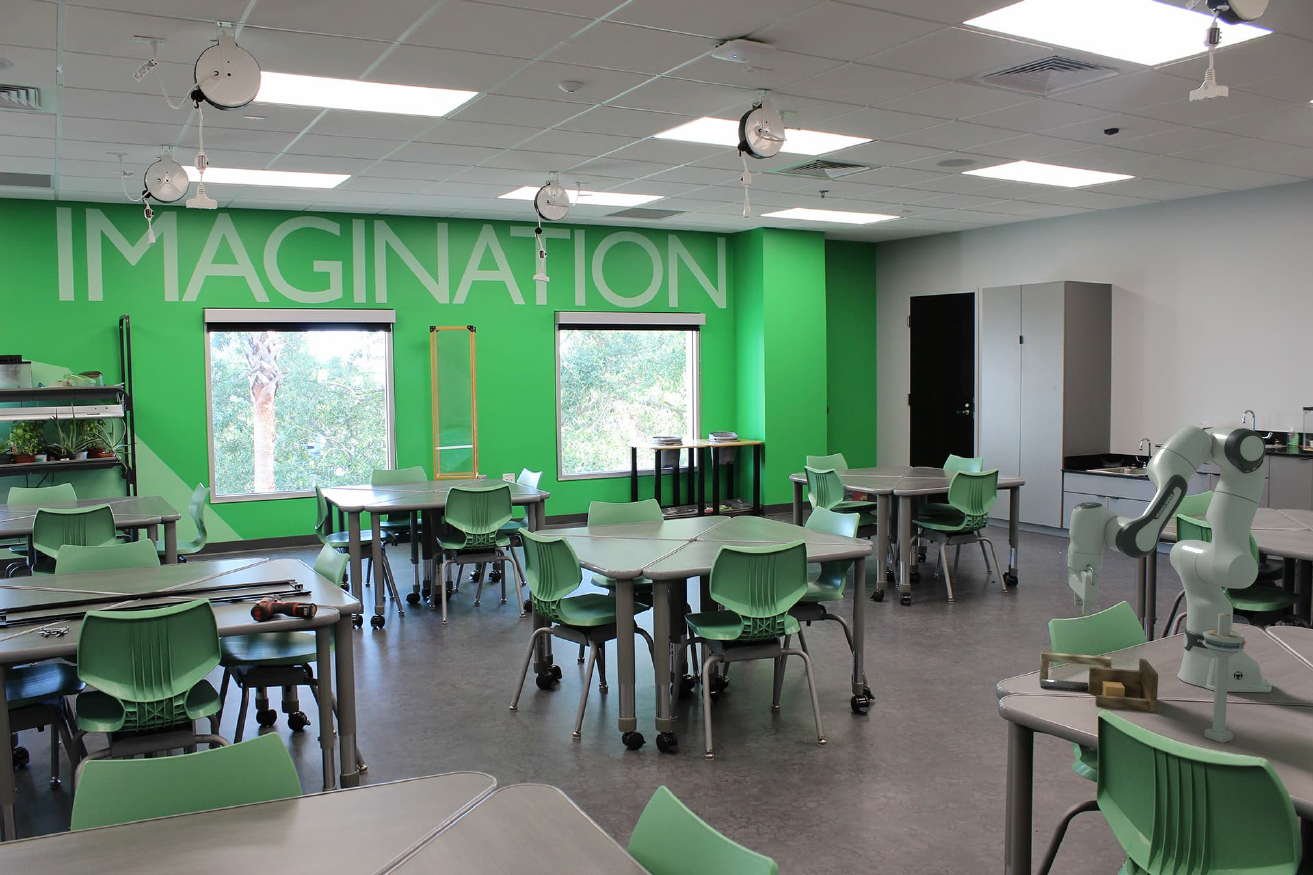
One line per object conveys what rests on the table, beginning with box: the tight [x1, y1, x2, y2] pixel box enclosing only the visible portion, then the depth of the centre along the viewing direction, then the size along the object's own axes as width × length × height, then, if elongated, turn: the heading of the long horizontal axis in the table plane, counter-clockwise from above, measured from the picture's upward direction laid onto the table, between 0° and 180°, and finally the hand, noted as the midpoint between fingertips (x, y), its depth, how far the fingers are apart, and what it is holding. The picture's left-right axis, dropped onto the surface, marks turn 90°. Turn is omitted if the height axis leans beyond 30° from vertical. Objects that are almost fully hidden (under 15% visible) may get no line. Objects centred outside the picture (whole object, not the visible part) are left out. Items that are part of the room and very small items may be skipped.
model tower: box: [1203, 613, 1245, 744], centre depth 224 cm, size 8×8×30 cm
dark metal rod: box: [1039, 678, 1089, 692], centre depth 260 cm, size 12×2×2 cm, turn 76°
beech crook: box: [1039, 651, 1114, 682], centre depth 264 cm, size 18×6×8 cm, turn 76°
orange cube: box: [1102, 681, 1125, 697], centre depth 251 cm, size 4×4×4 cm
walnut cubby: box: [1088, 658, 1159, 714], centre depth 250 cm, size 14×13×10 cm
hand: (1082, 610), depth 261 cm, fingers open, 8 cm apart
